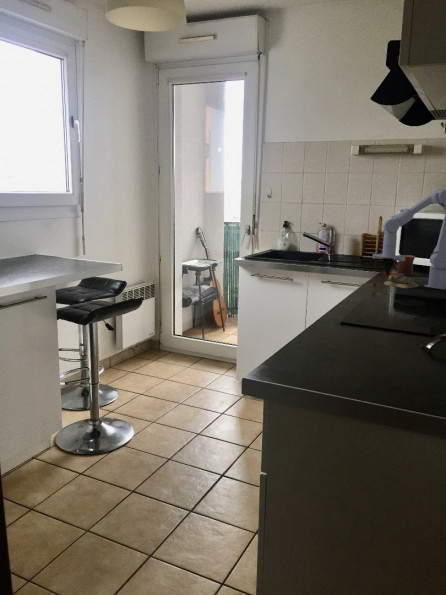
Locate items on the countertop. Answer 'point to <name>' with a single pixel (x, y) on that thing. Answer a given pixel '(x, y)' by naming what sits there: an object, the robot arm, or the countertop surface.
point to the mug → (405, 265)
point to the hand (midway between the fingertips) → (387, 275)
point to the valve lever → (394, 274)
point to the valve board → (401, 282)
